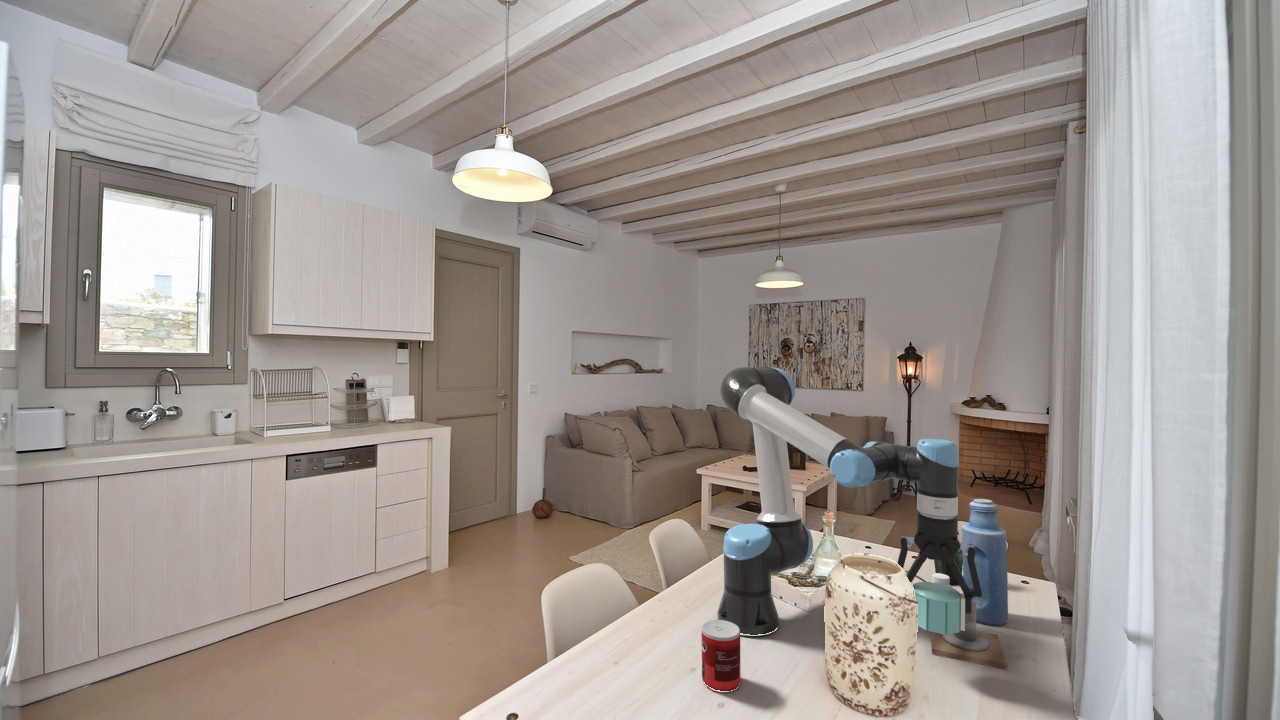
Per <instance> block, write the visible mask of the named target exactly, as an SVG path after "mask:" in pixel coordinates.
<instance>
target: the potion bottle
mask: <svg viewBox="0 0 1280 720" xmlns="http://www.w3.org/2000/svg"><path fill="white" fill-rule="evenodd" d="M959 535H960V533H959V531H958V536H959ZM953 557H954V559H955V562H956V564H957V566H958V568H959V570H960V571H961V573H962V574H963V553H962V550H961V549H959V550H958V551H957V552H956V553H955V554H954V555H953ZM933 562H934V571H935V573H940V574H945V575H947V576H949V577H950V583H949V584H950V585H951V586H952V587H953V586H960V585H959V583H958V581H957V579H956V577H955V575H954V573H953V571H952V569H951V568H950V566H949V564H948V562H947V561H945V562H944V561H940V560H937V559H935V560H933Z"/></svg>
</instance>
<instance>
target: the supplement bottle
mask: <svg viewBox="0 0 1280 720" xmlns="http://www.w3.org/2000/svg"><path fill="white" fill-rule="evenodd" d="M931 576H932V577H931V581H932V582H934V583H939V584H943V585H947V586H949V587H952V588H953V585H950V584H949V583H950V577H949V576H947V575H945V574H940V573H934V572H933V574H932V575H931Z"/></svg>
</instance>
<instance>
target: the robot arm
mask: <svg viewBox="0 0 1280 720" xmlns="http://www.w3.org/2000/svg"><path fill="white" fill-rule="evenodd" d="M719 390H720V391H719V392H720V396H721V400H722V402H723V403H724V405H725V406H726V407H727V409H729V410H730V411H731V412H732V413H734V414H735V415H737V416H739V417H740V418H742V419H744V420H749V421H750V422H751V423H752V431H753V439H754V442H753V443H754V449H755V458H756V459H755V460H756V468H757V476H758V477H757V478H758V487H759V495H760V504H761V512H760V514H759V515H758V516H757V517H756V521H757V523H747V524H746V523H745V524H744V523H741V524H738V525H735V526H732V527H730V528H729V529H728V530H727V531H726V532H725V534H724V537H723V538H724V540H723V542H724V543H723V547H722V549H723V550H722V551H723V581H724V584H723V586H724V587H723V593H722V596H721V599H720V601H719V602H720V603H719V606H718V609H717V620H724V621H728V622H731V623H734V624H735V625H737V626H738V627H739V629H740V633H743V634H750V635H758V634H766V633H769V632H772V631H774V630H775V629H776V628H777V627H778V625H779V626H780V624H779V623H780V619H779V618H780V617H779V614H778V613H779V612H778V611H777V607H776V604H775V600H774V597H773V595H772V576H774V575H777V574H779V573H782V572H785V571H789V570H792V569H795V568H798V567H800V566H801V565H802V564H804V563H806V562H807V561H808V560H809V558H810V556H811V555H812V553H813V548H814V539H813V536H812V533H811V530H810V529H808V528H807V525H806V524H805V523H804V522H802V515H801V514H800V513H798V512H797V511H796V509H795V504H794V495H793V485H792V480H791V479H792V477H791V467H790V460H789V452H788V450H789V449H788V443H789V444H790V445H792V446H793V447H795V448H797V449H798V450H800V451H801V452H803V453H805V455H807V456H809V457H810V458H812V459H814V460H816V461H817V462H819V463H820V464H822V465H823V466H825V467H827V468H828V469H829V470H830V474H831V476H832V477H833V479H834V480H835V482H836V483H837V484H838V485H840V486H842V487H844V488H861V487H865V486H867V485H871V484H875V483H878V482H883V481H888V480H890V479H897V480H901V481H908V482H912V483H916V487H917V490H916V491H917V492H916V510H917V511H918V512H917V513H916V533H915V535H914V536H906V535H905V534H902V535H901V536H900V546H901V547H900V552H899V554H898V559H897V563H898V564H899V565H900V566H901V567H902V568H903V569H904V567H905V563H906V560H907V555H908V550H909V548H911V547H912V545H913V544H915V546H916V547H917V548H918V549H919V550H920V551H918V553H917V556H916V557H915V560H914V561H913V562H912V564H911V566H910V568H909V569H908V570H907V573H906V574H905V576H906V575H907V577H908V579H909V581H910V582H911V584H912V583H913V581H914V579H915V578H916V576H917V574H918V573H919V571H920V570H921V568H922V566H923V564H924V563H925V562H926V561H927V559H928V560H931V561H932V560H933V561H934V560H935V559H937V560H940V561H944V562H945V561H947V562H948V564H949V566H950V568H951V569H952V571H953V573H954V575H955V577H956V579H957V581H958V583H959V585H958V586H959V587H960V589H961V591H962V593H961V592H959V593H960V594H961V599H960V630H963V631H965V613H968V614H970V613H971V600H972V598H973V597H982V592H981V587H980V583H979V579H978V574H977V570H976V566H975V562H974V557H975V548H974V546H973V545H972V544H969V545H965V544H962V542H961V541H959V537H958V536H959V535H958V532H959V519H958V518H957V517H956V516H958V515H959V472H960V471H959V469H960V468H959V467H960V462H959V447H958V445H957V444H956V442H955V441H951V440H947V439H939V438H938V439H937V438H921V439H919V440H918V442H917V446H908V445H901V444H895V443H890V442H886V441H868V442H867V443H865V445H864V446H861V445H858V444H856V443H855V442H853V441H851V440H849V439H848V438H847V437H844V436H842V435H841V434H839V433H837V432H836V431H834V430H833V429H830V428H829V427H827V426H825V424H824V425H823V424H822V423H820V422H818V421H816V420H815V419H813V418H811V417H810V416H808V415H806V414H804V413H803V412H801V411H799V410H797V409H795V408H794V407H792V406H791V404H792V403H793V400H794V399H795V396H796V388H795V384H794V381H793V379H792V377H791V376H790V375H789V374H788V372H786V371H785V370H783V369H781V368H779V367H772V366H756V367H755V366H754V367H751V366H749V367H745V366H743V367H742V366H741V367H737V368H734V369H732V370H730V371H729V372H728V373H727V374H725V376H723V379H722V381H721V382H720V389H719ZM959 549H961V550H962V552H963V554H964V555H965V556H966V557H967V562H968V566H969V571H970V575H971V579H972V584H973V588H971V589H969V587H968V585H967V583H966V581H965V579H964V577H963V572H962V573H961V571H960V570H959V568H958V566H957V564H956V562H955V559H954V557H953V555H954V554H955V553H956V552H957V551H958V550H959ZM897 563H896V564H897ZM778 628H779V627H778Z"/></svg>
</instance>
